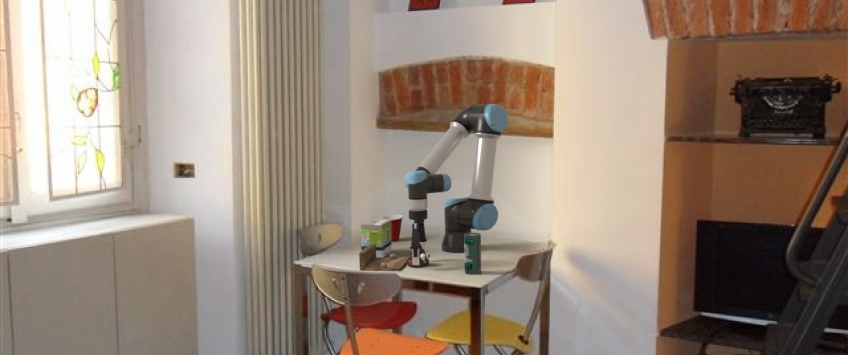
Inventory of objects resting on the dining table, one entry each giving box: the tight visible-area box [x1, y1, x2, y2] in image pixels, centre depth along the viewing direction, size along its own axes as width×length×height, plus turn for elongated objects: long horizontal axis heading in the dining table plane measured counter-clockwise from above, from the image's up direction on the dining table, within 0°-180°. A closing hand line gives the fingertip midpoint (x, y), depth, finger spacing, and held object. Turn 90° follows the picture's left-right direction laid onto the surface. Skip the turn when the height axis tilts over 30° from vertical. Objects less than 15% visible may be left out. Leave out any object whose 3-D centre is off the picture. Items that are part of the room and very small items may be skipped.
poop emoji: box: [406, 242, 431, 268], centre depth 301 cm, size 10×8×9 cm
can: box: [463, 232, 482, 275], centre depth 285 cm, size 6×6×15 cm
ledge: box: [358, 243, 408, 272], centre depth 303 cm, size 16×20×7 cm
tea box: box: [360, 219, 393, 258], centre depth 323 cm, size 15×10×15 cm, turn 168°
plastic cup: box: [380, 214, 404, 243], centre depth 356 cm, size 11×11×12 cm
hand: (418, 261), depth 302 cm, fingers open, 13 cm apart
